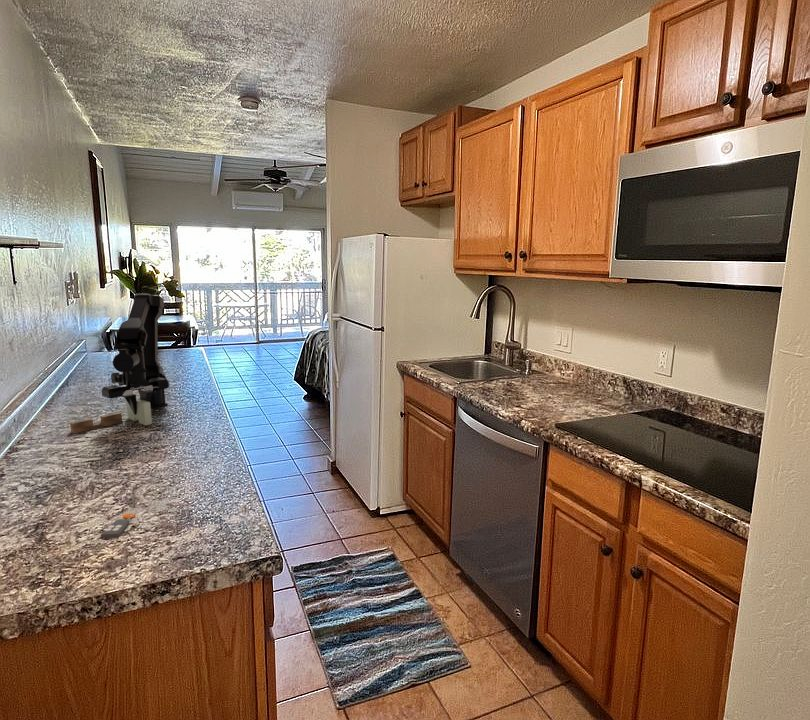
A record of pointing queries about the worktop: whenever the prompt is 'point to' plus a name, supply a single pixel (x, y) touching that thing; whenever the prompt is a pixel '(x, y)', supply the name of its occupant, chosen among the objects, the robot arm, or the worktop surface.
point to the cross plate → (140, 412)
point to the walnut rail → (88, 423)
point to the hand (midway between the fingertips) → (138, 413)
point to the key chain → (117, 526)
